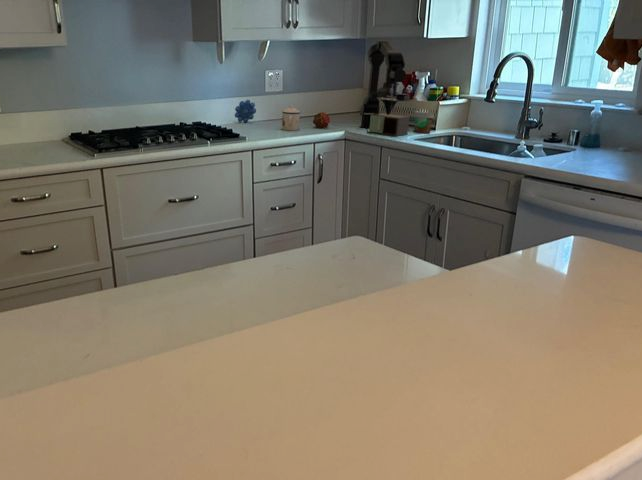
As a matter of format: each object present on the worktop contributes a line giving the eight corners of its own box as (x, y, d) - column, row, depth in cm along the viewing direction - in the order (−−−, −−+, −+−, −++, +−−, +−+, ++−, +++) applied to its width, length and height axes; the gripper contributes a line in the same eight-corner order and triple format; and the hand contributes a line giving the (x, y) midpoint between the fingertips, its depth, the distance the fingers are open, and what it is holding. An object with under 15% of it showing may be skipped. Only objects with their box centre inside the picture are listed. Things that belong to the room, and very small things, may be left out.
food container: (406, 131, 320) (409, 111, 316) (416, 130, 322) (418, 110, 318) (421, 134, 310) (424, 114, 306) (431, 134, 312) (434, 113, 308)
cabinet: (366, 132, 311) (368, 114, 307) (380, 130, 319) (382, 113, 315) (394, 136, 300) (396, 118, 297) (407, 134, 309) (409, 116, 305)
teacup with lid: (282, 127, 319) (283, 104, 314) (299, 128, 318) (300, 105, 314) (280, 131, 308) (281, 106, 303) (298, 131, 307) (299, 107, 303)
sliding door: (366, 131, 309) (367, 115, 306) (370, 131, 311) (371, 115, 308) (379, 133, 304) (380, 117, 301) (383, 133, 306) (384, 116, 303)
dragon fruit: (318, 132, 318) (320, 132, 330) (332, 122, 316) (333, 123, 327) (309, 117, 317) (311, 118, 329) (323, 108, 315) (325, 109, 326)
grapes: (256, 122, 336) (257, 99, 332) (255, 123, 330) (255, 100, 325) (235, 121, 337) (235, 98, 333) (233, 122, 331) (234, 99, 326)
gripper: (365, 80, 293) (362, 113, 299) (399, 82, 281) (395, 118, 287) (378, 79, 300) (375, 112, 306) (412, 81, 288) (408, 116, 295)
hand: (388, 114), depth 298 cm, fingers closed
